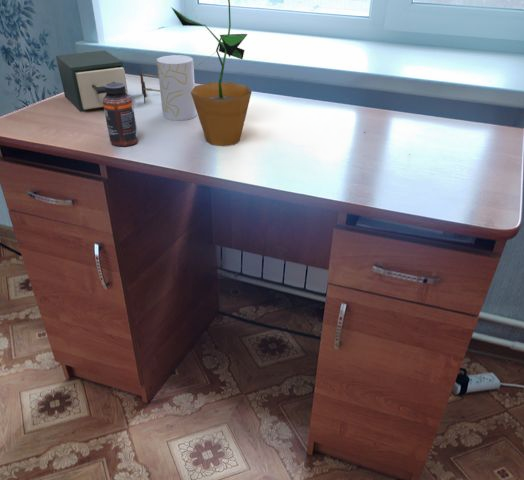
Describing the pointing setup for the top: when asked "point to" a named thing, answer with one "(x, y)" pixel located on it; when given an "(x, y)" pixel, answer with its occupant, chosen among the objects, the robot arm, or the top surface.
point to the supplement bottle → (119, 115)
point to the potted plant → (221, 94)
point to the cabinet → (82, 62)
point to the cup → (176, 87)
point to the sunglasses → (144, 85)
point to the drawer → (97, 84)
